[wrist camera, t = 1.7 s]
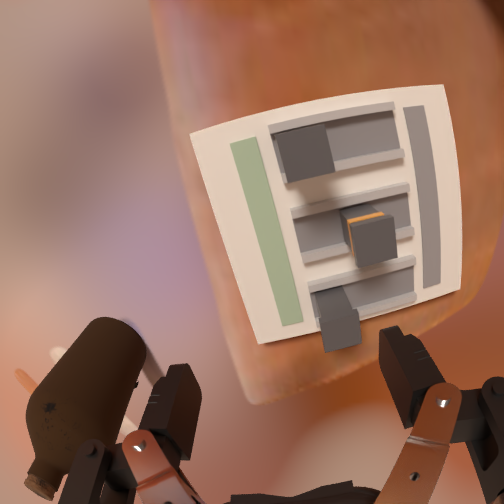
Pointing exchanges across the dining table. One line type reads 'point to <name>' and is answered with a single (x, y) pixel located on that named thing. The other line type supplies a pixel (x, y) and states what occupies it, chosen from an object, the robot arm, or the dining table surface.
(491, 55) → the dining table surface
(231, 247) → the switch board
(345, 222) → the breaker handle
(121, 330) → the olive oil
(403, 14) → the dining table surface
